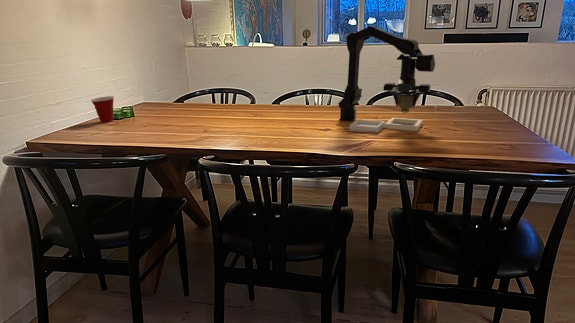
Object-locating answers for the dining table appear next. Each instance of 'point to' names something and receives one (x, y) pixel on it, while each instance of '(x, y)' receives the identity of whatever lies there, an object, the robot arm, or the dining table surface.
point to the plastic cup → (104, 108)
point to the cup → (405, 101)
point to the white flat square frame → (415, 127)
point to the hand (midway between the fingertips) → (405, 107)
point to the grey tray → (367, 126)
